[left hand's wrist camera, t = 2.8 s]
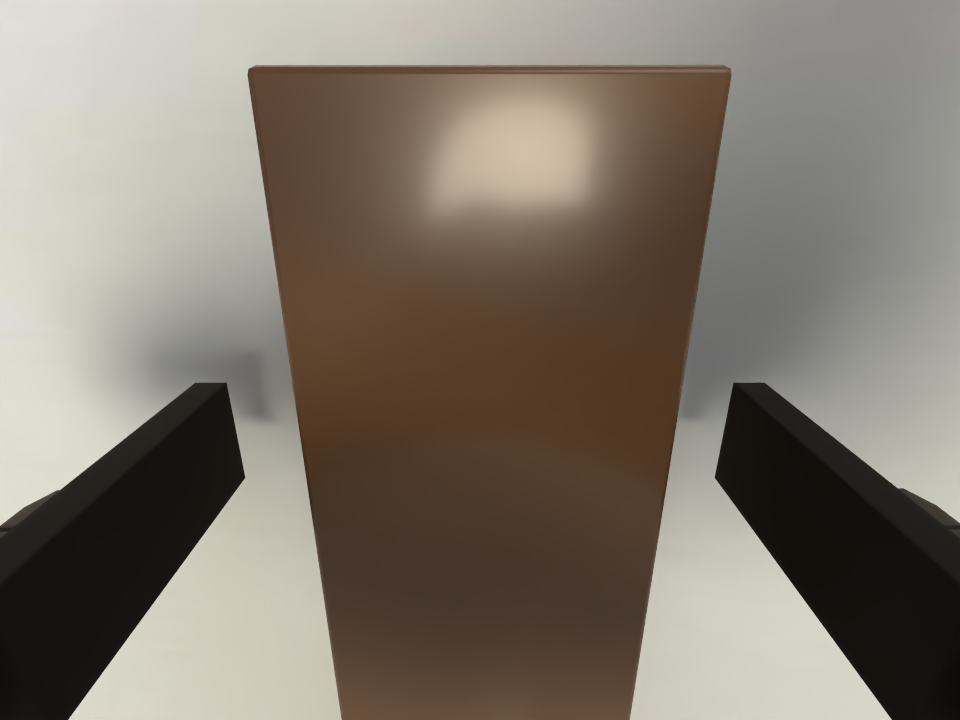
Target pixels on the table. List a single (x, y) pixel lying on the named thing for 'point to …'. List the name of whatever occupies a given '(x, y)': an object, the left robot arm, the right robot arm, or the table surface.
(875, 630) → the left robot arm
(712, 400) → the table surface
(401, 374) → the post
